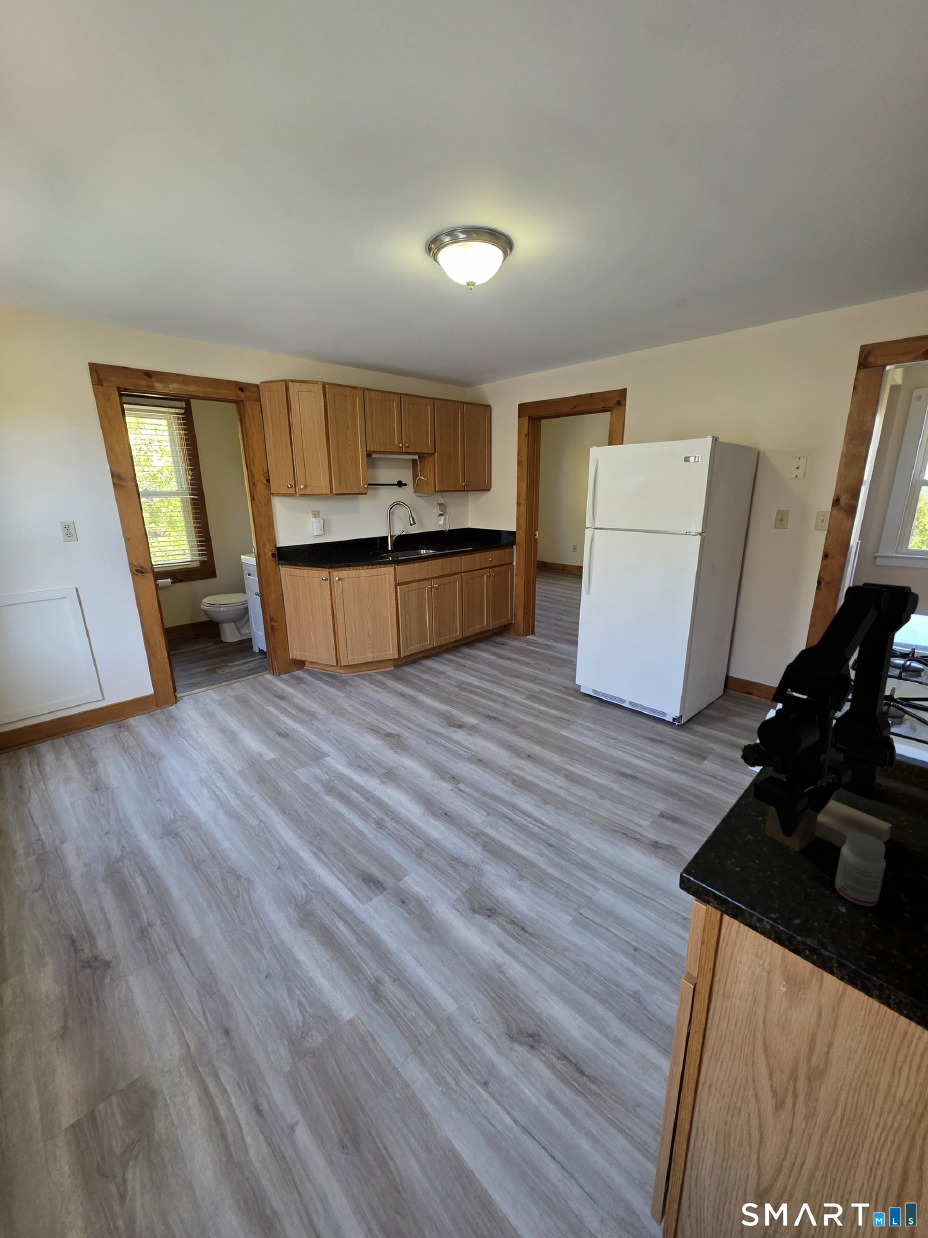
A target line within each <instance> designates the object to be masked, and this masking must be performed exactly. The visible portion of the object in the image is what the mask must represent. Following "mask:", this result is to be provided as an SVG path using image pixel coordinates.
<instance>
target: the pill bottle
mask: <svg viewBox="0 0 928 1238" xmlns="http://www.w3.org/2000/svg"><path fill="white" fill-rule="evenodd" d="M885 854H886V845H885V844H884V843H882V842H881V841H880V840H878V839H877V838H875V837H873V836H870V835H868V834H865V833H860V832H851V833H849V834H848V836H847V841H846V844H845V845H844V846H843V847H842V848H841V849H840V855H839V859H838V864H837V870H836V875H835V881H834V887H835V889H836V891H837V892H838V893H839V894H840V895H841V896H842V897H843V898H845V899H846V900H848V901H850V902H852V903H855V904H857V905H860V906H865V907H874V906H876V905H877V904H878V903H879V900H880V894H881V889H882V885H883V880H884V875H885V871H886V867H887V866H886V865H887V863H886V860H885V859H884V857H885Z"/></svg>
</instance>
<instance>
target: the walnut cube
mask: <svg viewBox="0 0 928 1238" xmlns="http://www.w3.org/2000/svg"><path fill="white" fill-rule="evenodd" d="M817 818H818V813H816V812H814V811H812V810H809V811H808V813H807V814H806V816H805V817H804V819H803V820H802V822H801V823H800V825H799V826H798V828H797V829H796V831H795V832H794V834H793V835H792V837H790V838H788V837H786V836H784V835H783V834H782V830H781V827H780V823H779V820H778V816H777V813H776V810H775V807H773V806H771V805H769V806H768V808H767V818H766V824H765V831H764V834H765V835H767V836H768V837H770V838H772V839H774V840H775V841H778V842H780V843H782V844H783V845H785V846H787V847H789V848H790V849H792V850H794V851H796V852H799V851H801V850H802V849H804V848H805V847H806V846H808V845H809V844H811V843H812V842H814V841H815V836H816V835H815V830H816V824H817Z"/></svg>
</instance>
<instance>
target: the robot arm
mask: <svg viewBox="0 0 928 1238" xmlns="http://www.w3.org/2000/svg"><path fill="white" fill-rule="evenodd" d="M919 600H920V597H919V594H918V593H915V592H914V591H913V590H912V587H911V586H908V585H896V584H886V583H874V582H863V583H862V585H859V584H855V585H850V586H847V588H846V590H845V592H844V595H843V602H842V603H841V605H840V606H839V607H838V610H837V611H836V612H835V614H834V616H833V617H832V619H831V621H830V622H829V623H828V625H827V627H826V629H825V630H824V632H823V634H822V635H821V637H820V638H819V639H818V641H817V642H816V643H815V644H814V645H811V646H809V647H806V648H803V649H802V650H800V651H799V652H798V654H797V655H796V656H795V658H793V659H792V661H791V662H789V663H788V664H787V665H786V666H785V668H784V669H785V670H784V671H783V674H782V676H781V678H780V680H779V683H778V684H777V686H776V689H775V690H774V693H773V695H772V698H771V701H772V702H773V703H777V704H780V705H781V707H779V708H777V709H776V710H775V712H774V715H772V716H771V717H768V718H767V719H764V720H763V721H762V722H760V724H759V726H758V727H757V730H756V731H757V732H756V734H757V739H758V742H753V743H752V744H751V743H747V744H746V745H743V748H742V749H741V755H740V759H741V760H743V762H744V763H745V764H746V765H747V766H748V767H749V768H757V767H760V768H761V767H763V768H772V773H774V774H777V775H784V777H783V779H782V778H779V777H776V776H774V775H767V776H766V777H764V778H762V779H760V780H757V781H756V782H754V783H752V787H751V796H752V798H753V799H755V800H758V801H760V802H762V803H765V804H766V805H769V806H773V807H775V810H776V813H777V816H778V820H779V823H780V827H781V830H782V834H783V835H784V836H786V837H788V838H790V837H792V835H793V834H794V832H795V831H796V829H797V828H798V826H799V825H800V823H801V822H802V820H803V819H804V817H805V816H806V814H807V813H808V811H809V810H812V811H814V812H816V813H818V815H819V814H820V813H821V811H822V810H823V809H824V808H825V807H826V805H827V804H828V803H829V802H830V801H831V800H833V798H835V796H836V795H837V794H838V793H839V792H840V791H841V790H842V788H843V789H846V790H849V791H851V792H853V793H856V794H858V795H861V796H863V797H865V798H871V797H872V796H874V795H875V794H877V793H879V792H880V791H881V790H883V788H884V785H883V784H880V783H878V775H879V773H880V772H879V771H880V768H881V769H884V770H885V769H886V768H895V764H896V761H897V760H896V758H897V757H896V755H897V753H896V752H897V750H896V746H895V743H894V742H895V741H894V738H893V737H891V731H892V724H891V722H890V720H889V718H888V717H887V716H886V714H885V712H884V711H883V707H884V706H883V705H884V700H885V695H886V689H887V683H888V679H889V673H890V667H891V661H892V654H893V648H894V643H895V639H896V638H895V637H896V634H897V632H900V630H901V629H902V628H903V627H904V626H906V625H907V624H908V623H909V622H910V621H911V619H912V615H914V614H915V613H916V611H917V609H918V606H919ZM857 650H858V651H857ZM856 652H857V657H856V663H855V669H854V677H853V678H852V675H851V668H850V662H851V660H852V658H853V656H854V655H855V654H856ZM852 679H853V682H852ZM789 691H790V692H791V693H792V694H791V693H789ZM787 692H788V693H787ZM795 694H796V695H795ZM850 695H851V696H850ZM802 696H804V697H802ZM849 698H850V702H849V707H848V708H847V709H846V710H845V711H844V712H843V713H841V712H842V711H843V709H844V707H845V705H846V703H847V700H849ZM837 713H841V715H839V717H837V718H836V720H835V722H834V717H835V716H836V714H837ZM836 753H837V754H841V756H840V760H839V759H835V758H833V757H831V756H833V755H835V754H836Z"/></svg>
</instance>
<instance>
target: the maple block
mask: <svg viewBox="0 0 928 1238" xmlns="http://www.w3.org/2000/svg"><path fill="white" fill-rule="evenodd" d="M892 825H893V824H891V823H889V822H886V821H883V820H881V819H879V818H876V817H875V816H872V815H869V814H868V813H864V812H862V811H860V810H857V809H856V808H853V807H850V806H848V805H846V804H843V803H841V802H839V801H836V800H834V799H832V800H831V801H830V802H829V803H828V804H827V805H826V807H825V808H824V809H823V810H822V811H821V813H820V814H819V815H818V818H817V824H816V830H815V836H817V837H819V838H820V839H823V840H825V841H826V842H829V843H831V844H832V845H835V846H837V847H838V848H841V849H842V847H843V846H844V845H845V844H846V841H847V836H848V834H849V833H851V832H860V833H865V834H868V835H870V836H873V837H875V838H877V839H878V840H880V841H881V842H882V843H883V844H884V843H886V842H887V841H888V840H889V839H890V835H891V830H892V829H891V828H892Z"/></svg>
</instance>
